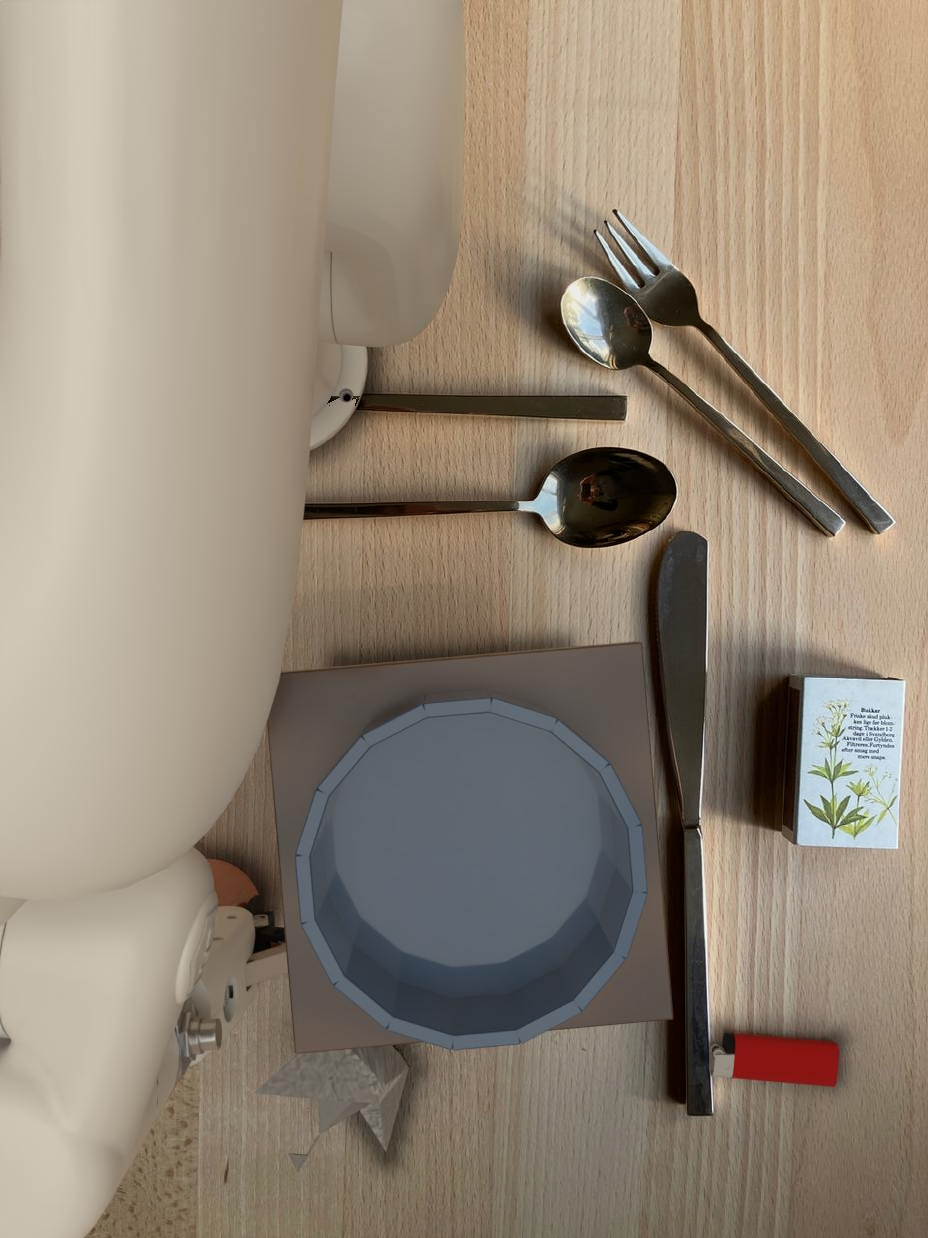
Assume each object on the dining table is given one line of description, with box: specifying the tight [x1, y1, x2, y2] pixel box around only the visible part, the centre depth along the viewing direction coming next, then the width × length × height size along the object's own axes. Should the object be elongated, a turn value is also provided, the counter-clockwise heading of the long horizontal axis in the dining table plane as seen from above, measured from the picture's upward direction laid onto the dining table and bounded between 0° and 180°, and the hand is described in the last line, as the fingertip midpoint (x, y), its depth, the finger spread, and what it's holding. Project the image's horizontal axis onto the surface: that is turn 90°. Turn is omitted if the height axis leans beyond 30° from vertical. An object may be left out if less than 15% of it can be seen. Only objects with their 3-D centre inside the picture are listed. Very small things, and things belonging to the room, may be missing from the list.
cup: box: [206, 858, 260, 908], centre depth 64 cm, size 7×7×8 cm
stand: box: [266, 641, 674, 1055], centre depth 56 cm, size 16×16×24 cm
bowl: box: [295, 689, 648, 1051], centre depth 42 cm, size 13×13×4 cm
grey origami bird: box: [253, 1045, 410, 1173], centre depth 65 cm, size 12×6×9 cm
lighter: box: [708, 1032, 840, 1088], centre depth 68 cm, size 3×1×8 cm
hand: (197, 925), depth 65 cm, fingers closed on cup, 7 cm apart
